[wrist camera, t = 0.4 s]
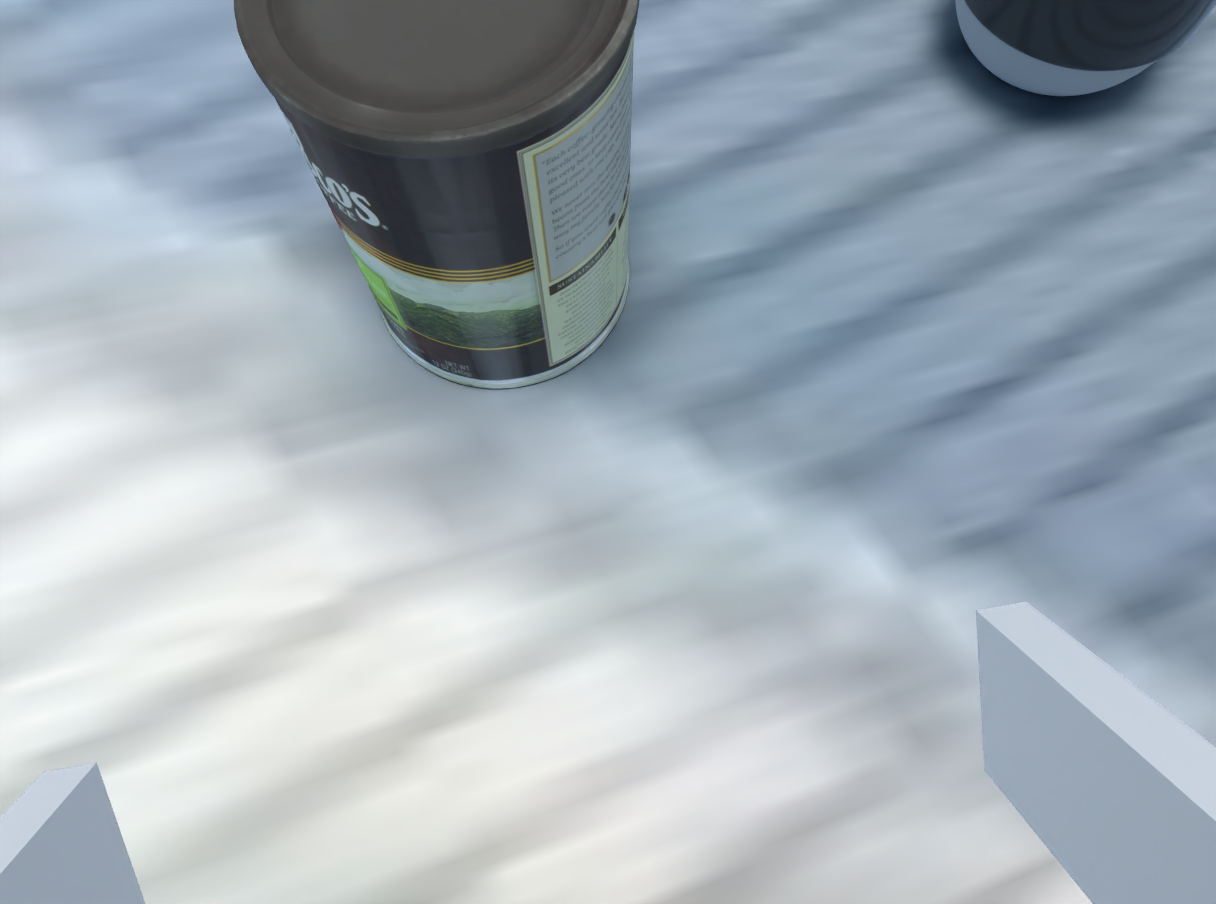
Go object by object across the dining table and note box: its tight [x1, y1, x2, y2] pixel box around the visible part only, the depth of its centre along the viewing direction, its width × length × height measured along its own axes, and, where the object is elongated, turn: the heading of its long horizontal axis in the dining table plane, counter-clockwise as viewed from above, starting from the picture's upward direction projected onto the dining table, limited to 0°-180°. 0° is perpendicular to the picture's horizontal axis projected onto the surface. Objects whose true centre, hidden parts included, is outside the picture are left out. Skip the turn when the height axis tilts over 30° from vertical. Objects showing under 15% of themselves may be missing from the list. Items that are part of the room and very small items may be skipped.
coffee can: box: [234, 0, 639, 389], centre depth 28 cm, size 10×10×14 cm
